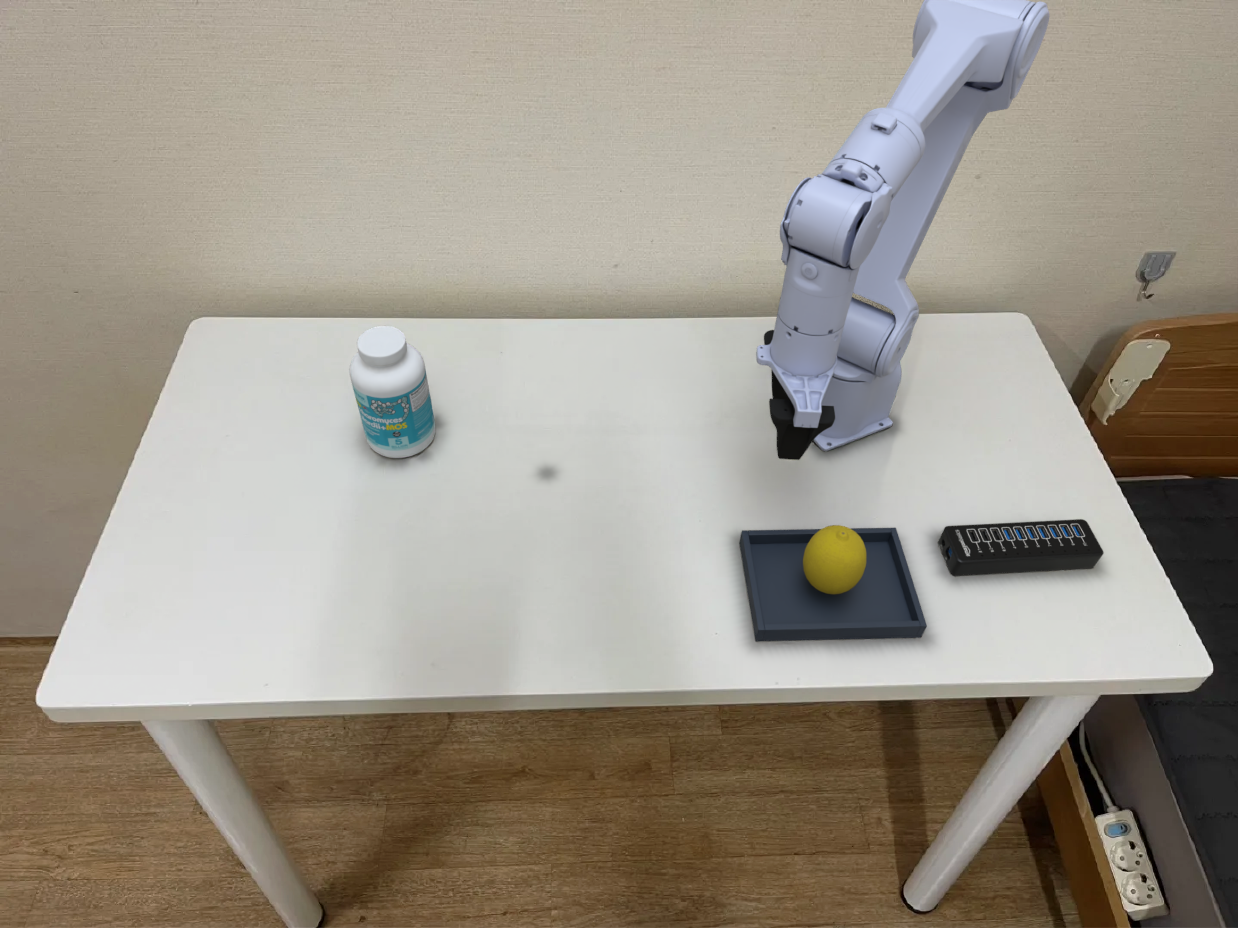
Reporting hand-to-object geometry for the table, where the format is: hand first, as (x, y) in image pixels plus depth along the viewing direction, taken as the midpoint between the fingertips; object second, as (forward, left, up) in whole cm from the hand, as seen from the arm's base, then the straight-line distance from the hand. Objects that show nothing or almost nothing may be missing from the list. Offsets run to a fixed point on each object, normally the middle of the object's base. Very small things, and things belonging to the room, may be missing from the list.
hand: (786, 427), depth 85 cm
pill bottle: (+32, -24, -10) cm, 41 cm away
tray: (+2, +13, -9) cm, 16 cm away
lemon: (+2, +12, -9) cm, 16 cm away
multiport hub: (-17, +17, -10) cm, 26 cm away
